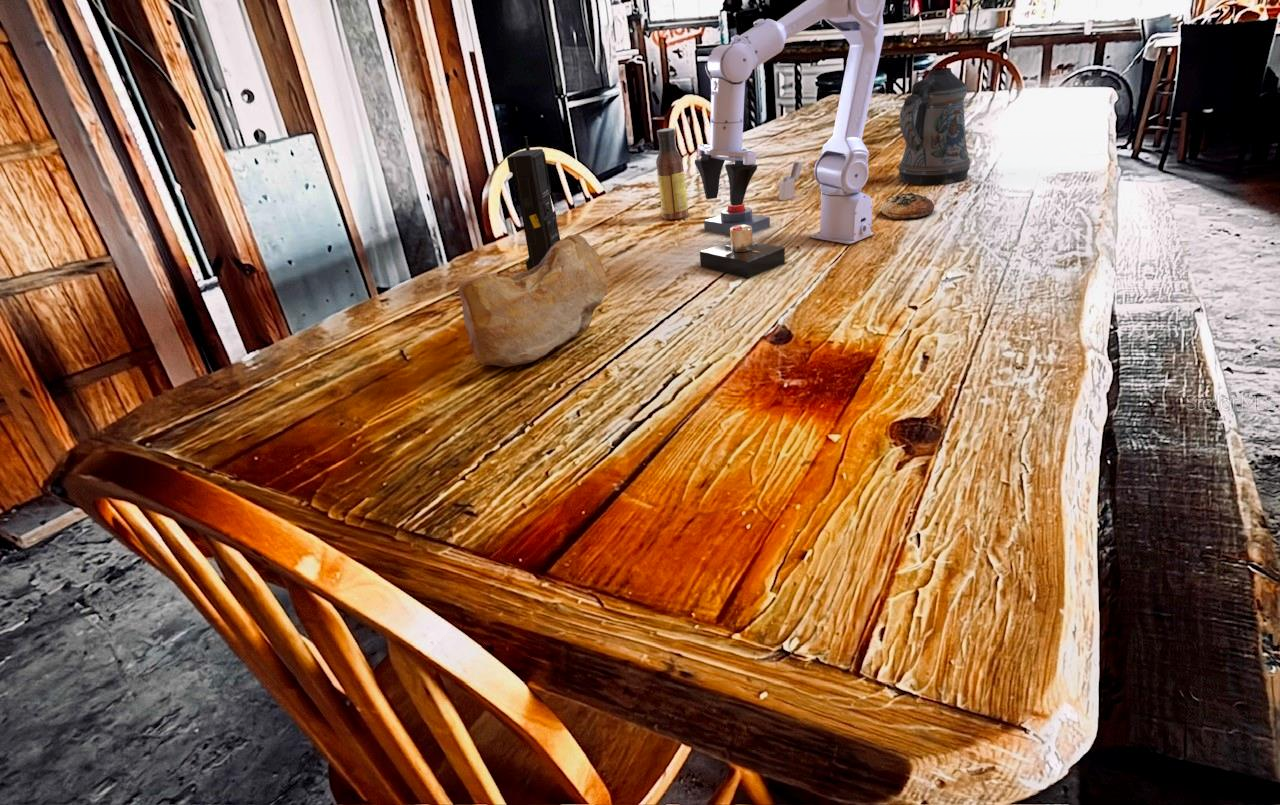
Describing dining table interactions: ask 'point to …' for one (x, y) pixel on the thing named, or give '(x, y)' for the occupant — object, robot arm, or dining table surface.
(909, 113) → the beer stein
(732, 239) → the dial
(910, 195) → the bread roll
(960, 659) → the dining table surface
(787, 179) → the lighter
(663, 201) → the sauce bottle
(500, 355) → the rough brown rock
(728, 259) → the dial panel
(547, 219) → the portable radio
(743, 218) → the button box
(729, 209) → the power button
